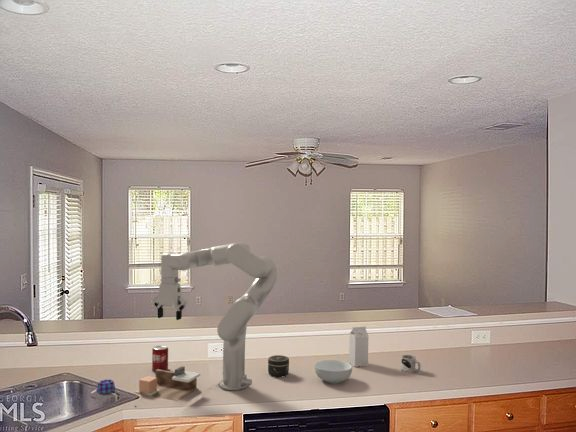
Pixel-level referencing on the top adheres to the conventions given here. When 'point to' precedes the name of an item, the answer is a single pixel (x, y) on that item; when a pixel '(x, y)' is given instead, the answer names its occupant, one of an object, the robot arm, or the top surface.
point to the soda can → (159, 358)
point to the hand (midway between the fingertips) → (169, 318)
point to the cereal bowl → (333, 370)
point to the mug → (409, 363)
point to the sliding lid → (184, 375)
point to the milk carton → (358, 347)
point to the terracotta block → (147, 384)
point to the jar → (278, 365)
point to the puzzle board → (171, 386)
